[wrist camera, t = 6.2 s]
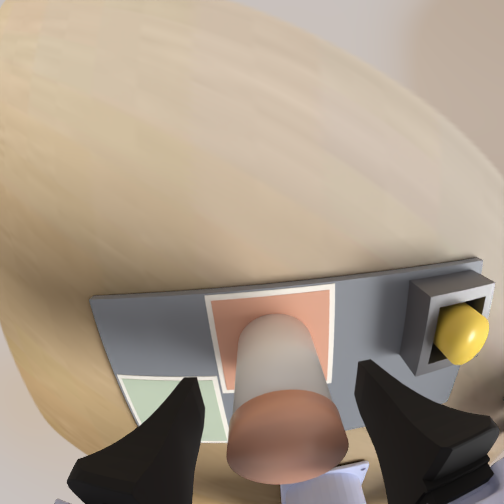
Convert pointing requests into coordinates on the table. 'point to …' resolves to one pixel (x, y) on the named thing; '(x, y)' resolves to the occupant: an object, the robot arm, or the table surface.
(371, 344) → the colouring board
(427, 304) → the button housing
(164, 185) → the table surface
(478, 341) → the button
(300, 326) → the white cylinder
